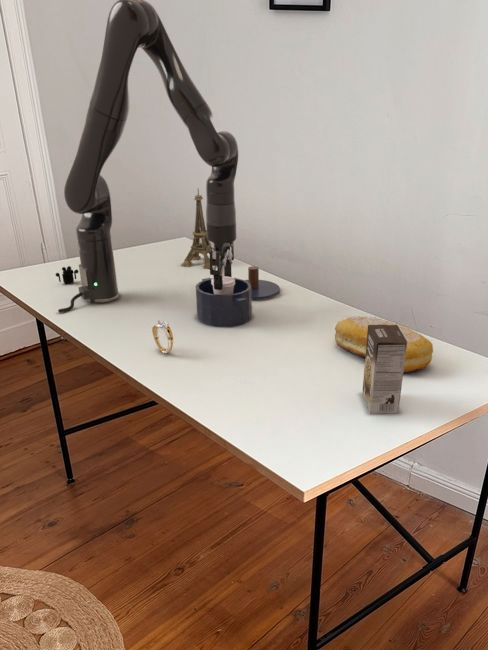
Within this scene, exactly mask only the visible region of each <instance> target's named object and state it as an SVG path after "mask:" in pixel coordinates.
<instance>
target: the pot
mask: <svg viewBox="0 0 488 650" xmlns="http://www.w3.org/2000/svg"><path fill="white" fill-rule="evenodd" d="M213 278H214V277H206V278H201V280H200V281H199V282H198V283H197V284H196V285H195V298H196V299H195V301H196V316H197V320H198V321H199V322H200V323H202V324H204V325H205V326H209V327H215V328H231V327H238V326H241V325H245V324H246V323H248V322H249V321H250V320H251V319H252V316H253V306H252V305H253V304H252V301H253V299H252V292H251V285H250V283H249V282H247V281H245V280H246V279H241V278H238V277H233V278H234V279H235V285H234V291H233V294H229V295H217V294H214V291H213V285H212V284H211V280H212V279H213Z"/></svg>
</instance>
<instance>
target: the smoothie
mask: <svg viewBox="0 0 488 650" xmlns="http://www.w3.org/2000/svg"><path fill="white" fill-rule="evenodd" d="M222 276H223V288H222V290H215V289H214V277H212V278H213V279H212V280H211V284H212V285H213V291H214V294H217V295H229V294H233V291H234V285H235V279H234V278H235V277H228V276H224V268H223V274H222Z"/></svg>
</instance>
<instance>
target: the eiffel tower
mask: <svg viewBox="0 0 488 650" xmlns="http://www.w3.org/2000/svg"><path fill="white" fill-rule="evenodd" d="M199 190H200V189H197V194H196V195H195V196H194V198H193V200H194V201H196V202H195V220H194V231H192V235H193V238H192V244H191V246H190V250H189V251H188V253H187V256H185V259H184V260H183V263H181V264H180V266H181V267H188V268H189V267H190V266H192V265H193V263H192V260H197V261H198V260H200V258H201V255H202V256H203V262H204V265H203V269H207V270H210V256H208V254H209V253H210V251H213V248H214V247H212V243H211V242H210V241H209V240H208V239H207V227H206V224H205V223H206V222H205V217H204V211H203V205H202V200H203V199H204V197H203V195H200V191H199ZM200 240H201V241H200ZM200 242H201V243H200ZM200 254H201V255H200Z"/></svg>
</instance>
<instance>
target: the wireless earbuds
mask: <svg viewBox="0 0 488 650" xmlns="http://www.w3.org/2000/svg"><path fill="white" fill-rule="evenodd" d="M61 271H62V274H60V273H59V272H56V273H55V277H57V278H58V282H59V283H61V282H63V283H64V284H66V285H67V284H73V283H74V280H77V274H79V273H80V270H79V269H74V270H73V269H72V266H70V265H68V266H67V267H66V266H63V267H61ZM61 276H62V280H61Z"/></svg>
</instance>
